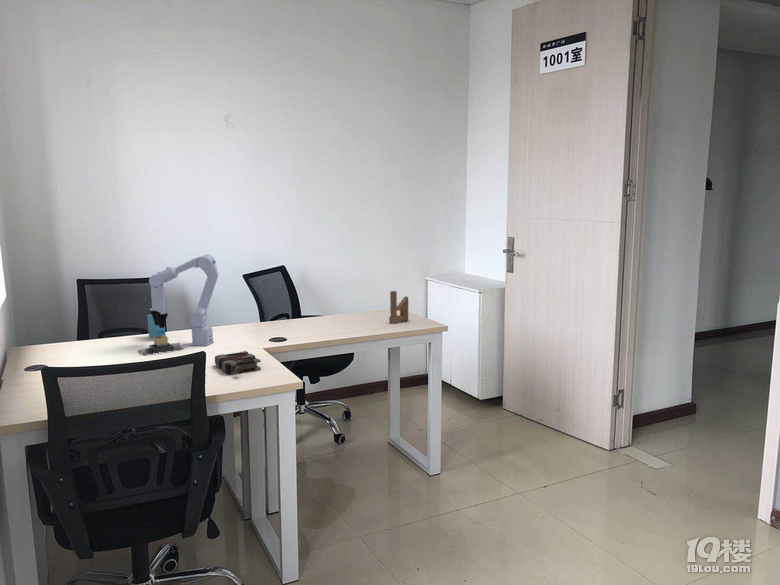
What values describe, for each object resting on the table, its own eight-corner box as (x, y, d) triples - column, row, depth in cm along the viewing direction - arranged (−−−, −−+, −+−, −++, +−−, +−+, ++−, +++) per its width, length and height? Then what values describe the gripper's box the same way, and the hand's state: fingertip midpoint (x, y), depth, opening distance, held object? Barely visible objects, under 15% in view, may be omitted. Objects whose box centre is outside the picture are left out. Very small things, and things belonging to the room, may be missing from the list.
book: (247, 361, 285) (246, 350, 284) (267, 374, 264) (267, 362, 263) (214, 366, 277) (213, 354, 276) (232, 380, 256) (231, 368, 255)
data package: (166, 339, 326) (164, 316, 324) (157, 341, 323) (155, 317, 322) (157, 335, 335) (155, 313, 333) (148, 336, 333) (147, 314, 331)
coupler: (168, 349, 303) (167, 337, 302) (157, 351, 300) (156, 338, 299) (165, 347, 307) (164, 335, 306) (154, 348, 304) (153, 336, 303)
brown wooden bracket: (408, 321, 363) (408, 290, 360) (392, 323, 357) (392, 292, 355) (405, 320, 366) (404, 289, 363) (389, 322, 361) (388, 291, 358)
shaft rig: (177, 345, 313) (177, 340, 312) (183, 349, 305) (183, 344, 305) (138, 351, 302) (137, 346, 302) (143, 355, 295) (142, 350, 294)
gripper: (145, 297, 314) (147, 325, 316) (153, 301, 302) (155, 330, 304) (160, 296, 318) (161, 323, 320) (168, 300, 306) (170, 328, 308)
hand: (159, 326), depth 313 cm, fingers open, 7 cm apart
